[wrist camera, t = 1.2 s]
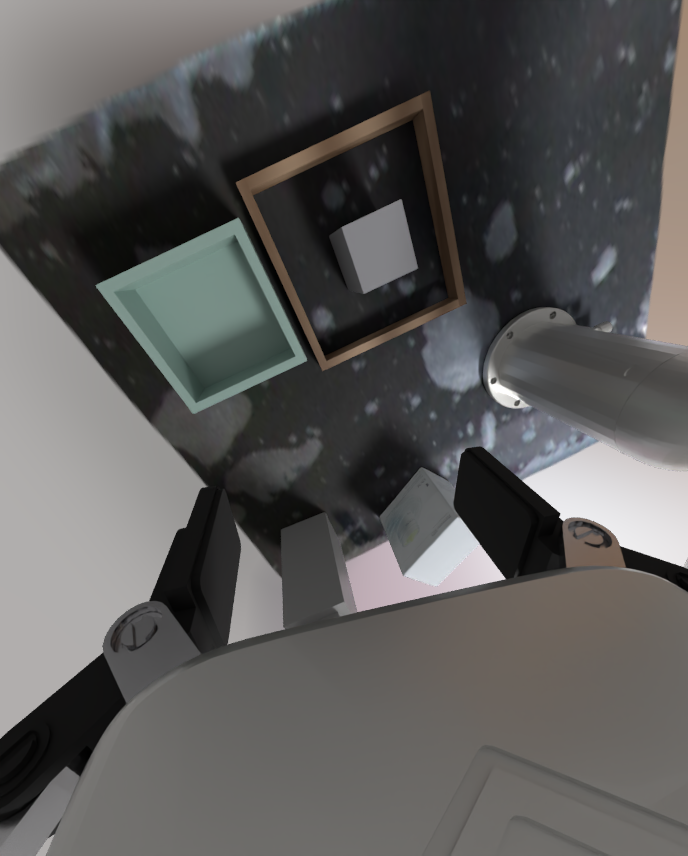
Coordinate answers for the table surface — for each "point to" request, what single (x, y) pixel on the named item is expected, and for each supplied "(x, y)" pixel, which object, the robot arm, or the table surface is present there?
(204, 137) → the table surface
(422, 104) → the brown wooden frame
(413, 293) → the table surface
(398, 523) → the skincare box
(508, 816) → the robot arm
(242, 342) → the sage green bin
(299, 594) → the perfume bottle
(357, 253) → the stone block
